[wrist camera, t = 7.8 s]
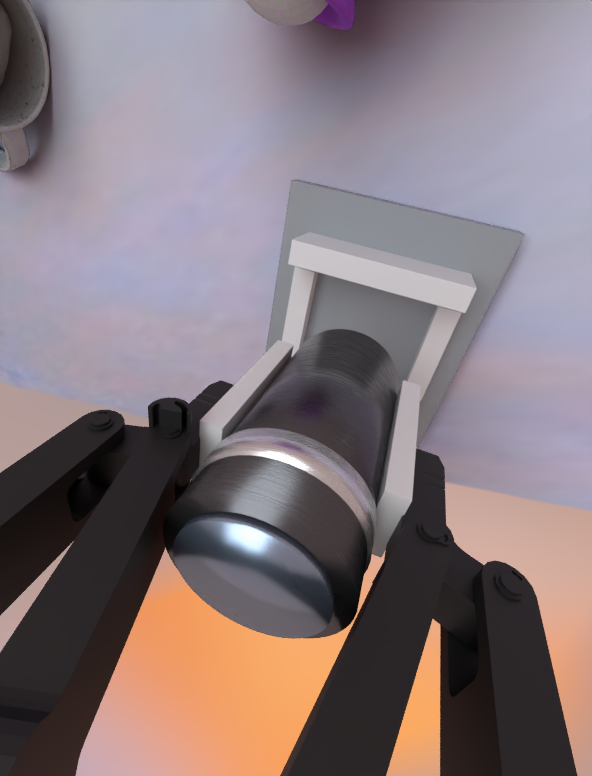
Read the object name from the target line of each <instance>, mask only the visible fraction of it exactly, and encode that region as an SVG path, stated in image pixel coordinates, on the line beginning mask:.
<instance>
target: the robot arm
mask: <svg viewBox="0 0 592 776" xmlns="http://www.w3.org/2000/svg"><path fill="white" fill-rule="evenodd" d="M293 347H294V345H292V344H289V343H286V342H283V341H280V340H278V341H277V342H276V343H275V344H274V345H273V346H272V347H271V348H270V349H269V350H268V351H267V352H266V353H265V354H264V355H263V356H262V357H261V358H260V359H259V360H258V361H257V362H256V363H255V364H254V365H253V366H252V367H251V368H250V369H249V370H248V371H247V372H246V373H245V374H244V376H243V377H242V378H241V379H240V380H239V381H238V382H237V383H236V384H235V385H232V384H229V383H227V382H224V381H218V382H216V383H213V384H211V385H209V386H208V387H207V388H206V389H205V390H204V391H203V392H202V393H200V394H199V395H198V396H197V397H196V399H194V400H193V401H192V402H191V403H189V404H188V403H187V402H186V401H184V400H181V399H178V398H163V399H159V400H156V401H154V402H152V403H151V404H150V405H149V406H148V415H149V427H139V426H132V425H125V423H124V418H123V417H122V415H121V414H119V413H117V412H115V411H111V410H98V411H94V412H91V413H88V414H86V415H84V416H82V417H81V418H79V419H78V420H77V421H75V422H74V423H72V424H71V425H69V426H68V427H66V428H65V429H63V430H62V431H61V432H59V433H58V434H56V435H55V436H53V437H52V438H50V439H49V440H47V441H46V442H45V443H43V444H42V445H40V446H39V447H37V448H36V449H34V450H33V451H32V452H30V453H29V454H27V455H26V456H24V457H23V458H21V459H20V460H18V461H17V462H16V463H14V464H13V465H11V466H10V467H8V468H7V469H5V470H4V471H2V472H1V473H0V615H1V614H2V613H3V612H4V611H5V610H6V609H7V608H8V607H9V606H10V605H11V604H12V603H13V602H14V601H15V600H16V599H17V598H18V597H19V596H20V595H21V594H22V593H23V592H24V591H25V590H26V589H27V588H28V587H29V586H30V585H31V584H32V583H33V582H34V581H35V580H36V579H37V578H38V576H39V575H40V574H41V573H42V572H43V571H44V570H45V569H46V568H47V567H48V566H49V565H50V564H51V563H52V562H53V561H54V560H55V559H56V558H57V557H58V556H59V555H60V554H61V553H62V552H63V551H64V550H65V549H66V548H67V547H68V546H69V545H70V543H72V542H73V541H74V542H73V543H72V545H71V547H70V548H69V550H68V551H67V553H66V554H65V556H64V557H63V559H62V560H61V562H60V563H59V565H58V566H57V568H56V569H55V571H54V572H53V574H52V575H51V577H50V578H49V580H48V581H47V583H46V584H45V586H44V587H43V589H42V590H41V592H40V594H39V595H38V597H37V598H36V600H35V601H34V603H33V604H32V606H31V607H30V609H29V610H28V612H27V613H26V615H25V616H24V618H23V619H22V621H21V622H20V624H19V625H18V627H17V628H16V630H15V631H14V633H13V634H12V636H11V637H10V639H9V641H8V642H7V643H6V645H5V646H4V648H3V650H2V651H1V653H0V776H75V775H76V770H77V765H78V760H79V756H80V753H81V750H82V747H83V745H84V742H85V739H86V737H87V735H88V732H89V730H90V727H91V725H92V722H93V720H94V718H95V715H96V713H97V710H98V708H99V706H100V703H101V701H102V699H103V696H104V694H105V691H106V689H107V687H108V684H109V682H110V679H111V677H112V675H113V672H114V670H115V667H116V665H117V663H118V660H119V658H120V655H121V653H122V651H123V648H124V646H125V643H126V641H127V639H128V636H129V634H130V631H131V629H132V627H133V624H134V622H135V619H136V617H137V614H138V612H139V610H140V607H141V605H142V602H143V600H144V598H145V595H146V593H147V590H148V588H149V586H150V583H151V581H152V579H153V576H154V574H155V571H156V569H157V567H158V564H159V562H160V559H161V557H162V555H163V552H164V550H165V543H164V539H163V523H164V519H165V517H166V515H167V513H168V511H169V510H170V509H171V507H172V506H173V505H174V504H175V502H176V501H177V500H178V499H179V497H180V496H181V495H182V494H183V492H184V491H185V490H186V489H187V487H188V486H189V485H190V480H191V478H192V477H193V475H194V473H195V471H196V470H197V469H198V468H199V467H200V465H201V464H202V463H203V462H204V460H205V459H206V458H207V457H208V456H209V454H210V453H211V452H212V451H213V449H214V448H215V447H216V446H217V445H218V444H219V443H220V442H221V441H222V440H223V439H225V438H226V437H228V436H229V435H230V434H231V433H232V431H233V430H234V429H235V428H236V426H237V425H238V424H239V423H240V421H241V420H242V419H243V418H244V416H245V415H246V414H247V413H248V411H249V410H250V409H251V408H252V406H253V405H254V404H255V403H256V401H257V400H258V399H259V398H260V396H261V395H262V394H263V393H264V391H265V390H266V389H267V388H268V387H269V385H270V384H271V383H272V382H273V380H274V379H275V378H276V377H277V375H278V374H279V373H280V372H281V370H282V369H283V368H284V367H285V365H286V364H287V363H288V362H289V360H290V359H291V357H292V352H293ZM420 389H421V386H420V385H417V384H414V383H411V382H408V381H405V380H403V381H402V384H401V386H400V388H399V391H398V393H397V396H396V400H395V406H394V411H393V417H392V422H391V428H390V433H389V438H388V444H387V449H386V455H385V460H384V466H383V471H382V477H381V482H380V488H379V493H378V498H377V504H376V510H377V525H376V531H375V537H374V543H373V549H372V554H374V555H376V556H379V557H382V555H383V553H384V551H385V550H386V552H385V560H384V563H383V564H382V566H381V568H380V570H379V571H378V573H377V575H376V577H375V579H374V580H373V582H372V583H373V584H372V586H371V588H370V591H369V593H368V595H367V597H366V599H365V601H364V603H363V605H362V607H361V609H360V611H359V613H358V615H357V618H356V620H355V622H354V624H353V626H352V628H351V630H350V632H349V634H348V636H347V638H346V640H345V642H344V645H343V647H342V649H341V651H340V653H339V655H338V657H337V659H336V661H335V663H334V665H333V667H332V669H331V671H330V674H329V676H328V678H327V680H326V682H325V684H324V686H323V688H322V690H321V692H320V694H319V697H318V698H317V701H316V703H315V705H314V707H313V709H312V711H311V713H310V715H309V717H308V719H307V721H306V723H305V726H304V728H303V730H302V732H301V734H300V736H299V738H298V740H297V742H296V744H295V746H294V748H293V750H292V752H291V755H290V757H289V759H288V761H287V763H286V765H285V767H284V769H283V771H282V773H281V775H280V776H386V774H387V770H388V767H389V763H390V760H391V757H392V754H393V750H394V747H395V743H396V740H397V737H398V733H399V730H400V726H401V723H402V720H403V716H404V713H405V710H406V706H407V703H408V699H409V696H410V693H411V689H412V686H413V683H414V679H415V676H416V672H417V669H418V665H419V662H420V659H421V656H422V652H423V649H424V645H425V642H426V639H427V636H428V632H429V629H430V625H431V621H432V619H434V620H435V621H437V622H438V623H439V624H440V625H441V656H440V658H441V662H440V663H441V667H440V674H441V675H440V676H441V677H440V678H441V679H440V681H441V682H440V683H441V684H440V691H441V692H440V706H441V707H440V714H441V715H440V717H441V719H440V728H441V729H440V776H577V773H576V768H575V764H574V759H573V755H572V750H571V746H570V742H569V737H568V733H567V728H566V724H565V720H564V715H563V711H562V706H561V702H560V698H559V693H558V689H557V684H556V680H555V676H554V671H553V667H552V663H551V658H550V654H549V649H548V645H547V641H546V637H545V632H544V627H543V623H542V619H541V615H540V610H539V605H538V601H537V597H536V595H535V592H534V590H533V588H532V586H531V585H530V583H529V582H528V581H527V579H526V578H525V577H524V576H523V575H522V574H521V573H520V572H519V571H517V570H516V569H515V568H513V567H511V566H510V565H508V564H506V563H503V562H499V561H492V562H487V563H486V564H485V565H483V564H481V563H480V562H478V561H477V560H475V559H474V558H472V557H471V556H470V555H468V554H467V553H465V552H464V551H463V550H462V549H460V548H459V547H458V546H457V545H456V543H455V542H454V538H453V535H452V533H451V531H450V530H449V528H448V527H447V526H446V515H445V514H446V512H445V511H446V510H445V490H444V489H445V481H444V479H445V473H444V466H443V464H442V462H441V461H440V459H439V457H438V456H436V455H433V454H431V453H428V452H425V451H422V450H419V449H416V442H417V429H418V416H419V403H420Z"/></svg>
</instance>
